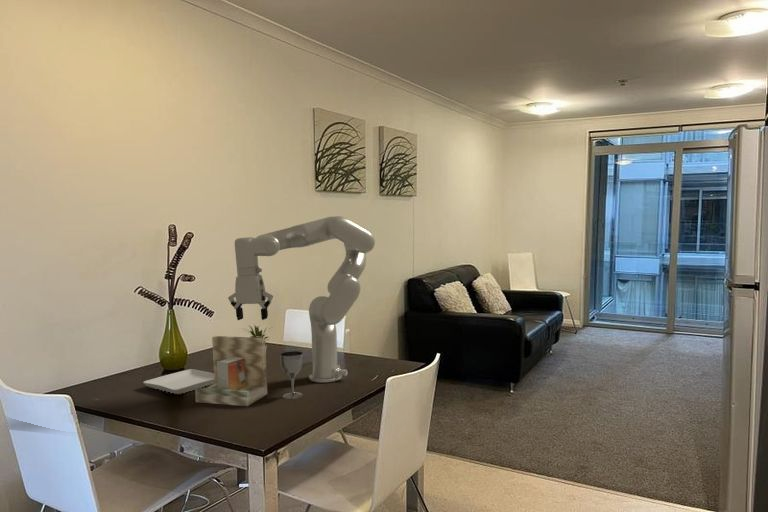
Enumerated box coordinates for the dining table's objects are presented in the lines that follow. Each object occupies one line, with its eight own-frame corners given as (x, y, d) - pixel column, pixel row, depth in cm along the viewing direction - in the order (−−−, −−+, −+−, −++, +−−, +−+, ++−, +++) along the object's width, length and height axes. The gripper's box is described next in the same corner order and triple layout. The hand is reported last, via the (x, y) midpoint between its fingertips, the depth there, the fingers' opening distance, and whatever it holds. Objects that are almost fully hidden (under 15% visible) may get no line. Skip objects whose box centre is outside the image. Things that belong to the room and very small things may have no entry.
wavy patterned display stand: (267, 393, 194) (264, 338, 193) (247, 406, 182) (245, 346, 180) (218, 390, 200) (215, 336, 199) (195, 402, 188) (192, 344, 186)
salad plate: (191, 376, 221) (190, 367, 221) (225, 383, 209) (224, 375, 209) (141, 390, 204) (141, 381, 204) (176, 399, 192) (175, 390, 192)
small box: (228, 393, 186) (227, 363, 185) (217, 391, 189) (216, 361, 188) (246, 387, 193) (245, 357, 192) (235, 385, 196) (234, 356, 195)
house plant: (233, 360, 242) (231, 324, 241) (257, 354, 254) (255, 319, 252) (255, 365, 234) (253, 327, 233) (279, 357, 245) (277, 321, 244)
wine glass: (294, 400, 186) (292, 357, 185) (276, 397, 190) (274, 354, 189) (309, 394, 193) (307, 352, 192) (292, 390, 197) (290, 349, 196)
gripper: (274, 269, 198) (278, 316, 199) (232, 271, 202) (236, 317, 204) (265, 272, 190) (269, 321, 192) (220, 274, 195) (225, 321, 196)
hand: (252, 319), depth 198 cm, fingers open, 9 cm apart
